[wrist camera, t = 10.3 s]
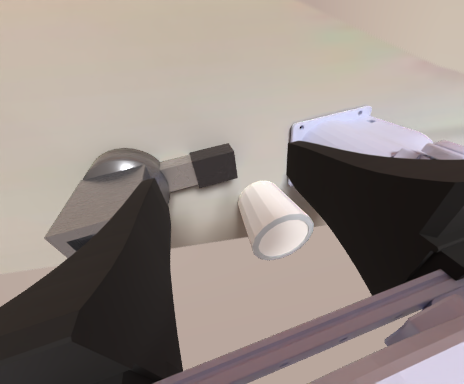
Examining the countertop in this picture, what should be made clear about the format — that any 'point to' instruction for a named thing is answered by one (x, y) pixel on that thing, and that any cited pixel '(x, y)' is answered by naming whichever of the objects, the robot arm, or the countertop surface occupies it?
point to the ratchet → (172, 167)
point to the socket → (93, 208)
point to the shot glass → (273, 221)
